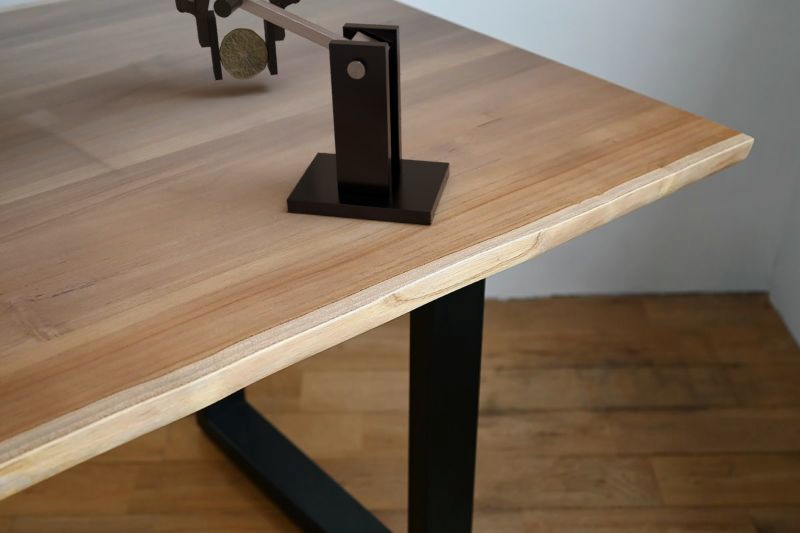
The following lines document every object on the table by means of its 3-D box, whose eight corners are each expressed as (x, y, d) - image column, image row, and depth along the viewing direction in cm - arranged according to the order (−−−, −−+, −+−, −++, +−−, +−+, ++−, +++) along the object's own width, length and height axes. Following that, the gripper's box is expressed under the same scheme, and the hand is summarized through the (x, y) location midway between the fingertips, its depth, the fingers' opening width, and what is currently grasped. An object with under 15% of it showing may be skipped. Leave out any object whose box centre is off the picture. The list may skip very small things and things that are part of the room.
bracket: (287, 212, 75) (271, 49, 67) (318, 164, 82) (307, 12, 75) (430, 225, 73) (430, 58, 65) (449, 174, 80) (451, 19, 72)
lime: (276, 74, 96) (272, 28, 94) (239, 87, 93) (234, 39, 91) (250, 64, 99) (246, 18, 96) (213, 76, 96) (208, 29, 93)
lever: (209, 18, 69) (217, -11, 67) (237, -5, 74) (245, -32, 72) (367, 91, 69) (378, 64, 68) (385, 64, 74) (395, 38, 73)
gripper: (120, -160, 78) (159, 94, 91) (326, -168, 82) (336, 77, 95) (119, -172, 84) (156, 68, 97) (311, -178, 88) (323, 53, 101)
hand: (245, 72), depth 96 cm, fingers closed on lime, 5 cm apart
